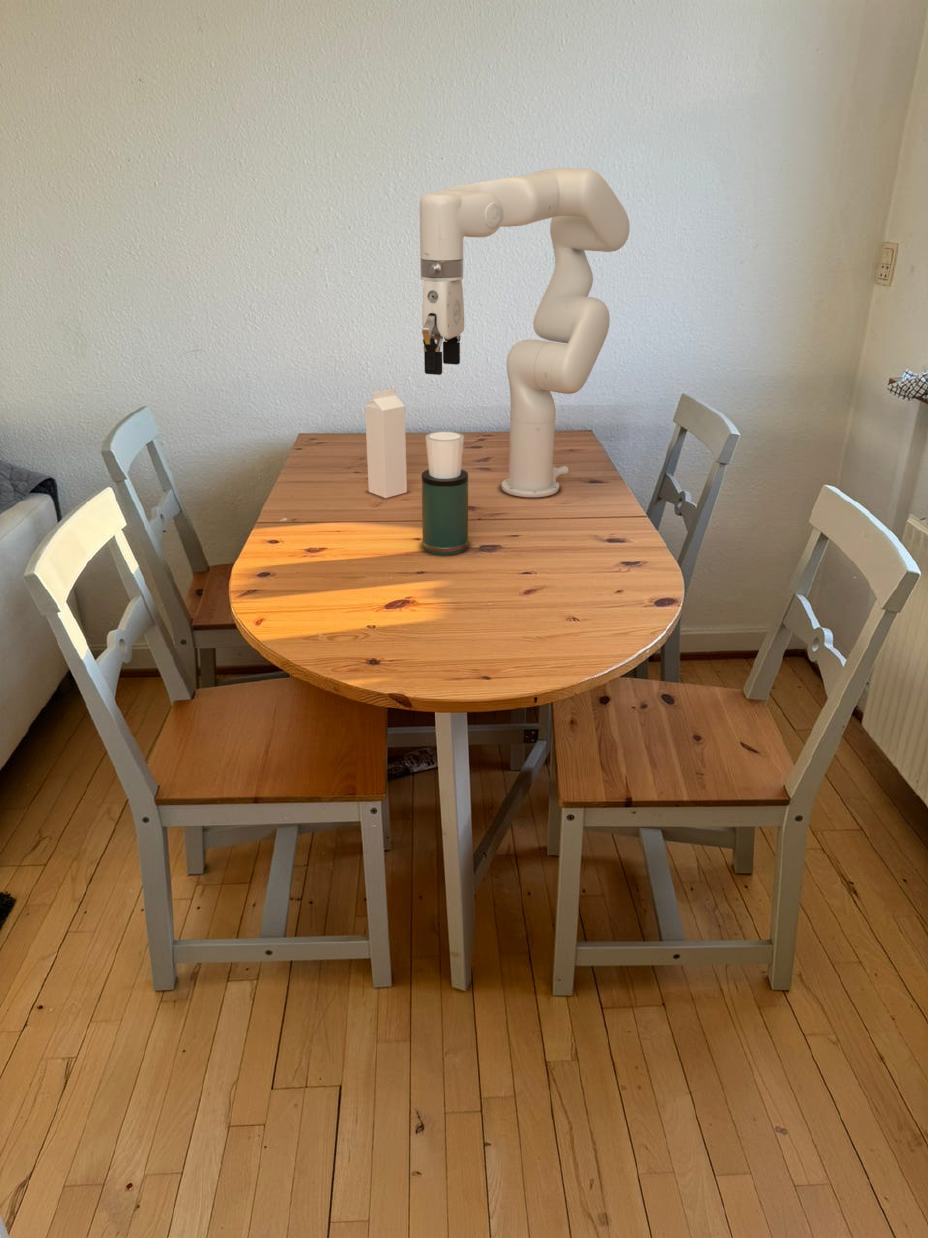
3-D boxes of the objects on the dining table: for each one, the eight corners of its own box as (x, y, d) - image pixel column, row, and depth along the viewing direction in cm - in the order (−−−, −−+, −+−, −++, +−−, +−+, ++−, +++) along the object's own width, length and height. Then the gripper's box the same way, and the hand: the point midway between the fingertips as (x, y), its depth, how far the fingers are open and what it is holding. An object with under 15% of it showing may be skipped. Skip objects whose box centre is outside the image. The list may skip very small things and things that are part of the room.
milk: (407, 492, 204) (405, 390, 194) (385, 498, 200) (382, 394, 191) (389, 485, 208) (387, 385, 198) (367, 491, 204) (364, 389, 195)
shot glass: (469, 470, 172) (469, 432, 168) (456, 481, 166) (456, 442, 163) (433, 466, 174) (433, 429, 170) (420, 477, 168) (419, 438, 165)
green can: (449, 535, 181) (449, 464, 175) (477, 548, 175) (478, 475, 169) (413, 545, 176) (412, 472, 170) (440, 558, 170) (439, 484, 164)
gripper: (445, 276, 157) (446, 379, 165) (477, 265, 172) (476, 361, 180) (403, 274, 160) (406, 376, 167) (438, 264, 174) (439, 358, 182)
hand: (442, 368), depth 173 cm, fingers open, 9 cm apart
